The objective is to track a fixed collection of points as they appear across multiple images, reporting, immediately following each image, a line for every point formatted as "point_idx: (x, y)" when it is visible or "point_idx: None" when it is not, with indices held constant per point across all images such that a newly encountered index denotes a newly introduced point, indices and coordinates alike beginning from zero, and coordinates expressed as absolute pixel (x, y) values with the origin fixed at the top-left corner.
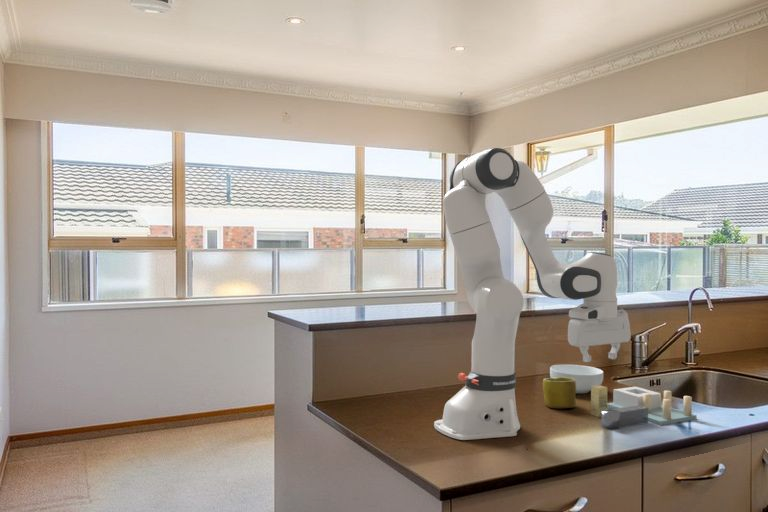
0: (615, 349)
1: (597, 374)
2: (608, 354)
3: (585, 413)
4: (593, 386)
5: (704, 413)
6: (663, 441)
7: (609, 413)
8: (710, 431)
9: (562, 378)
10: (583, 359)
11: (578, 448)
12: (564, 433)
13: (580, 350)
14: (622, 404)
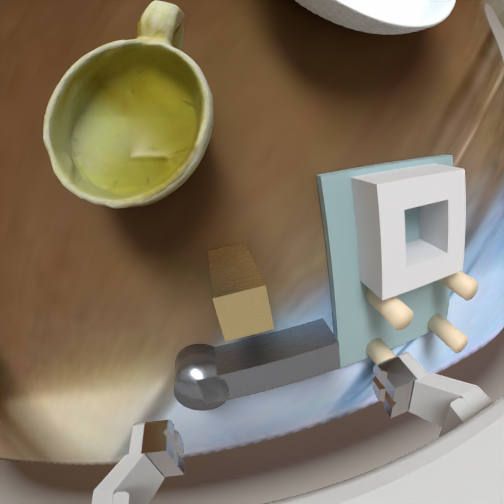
0: (429, 415)
1: (416, 27)
2: (386, 380)
3: (194, 237)
4: (218, 308)
5: (481, 283)
6: (259, 438)
7: (188, 405)
8: None
9: (178, 58)
10: (135, 433)
11: (77, 439)
12: (65, 380)
13: (103, 484)
14: (357, 220)
